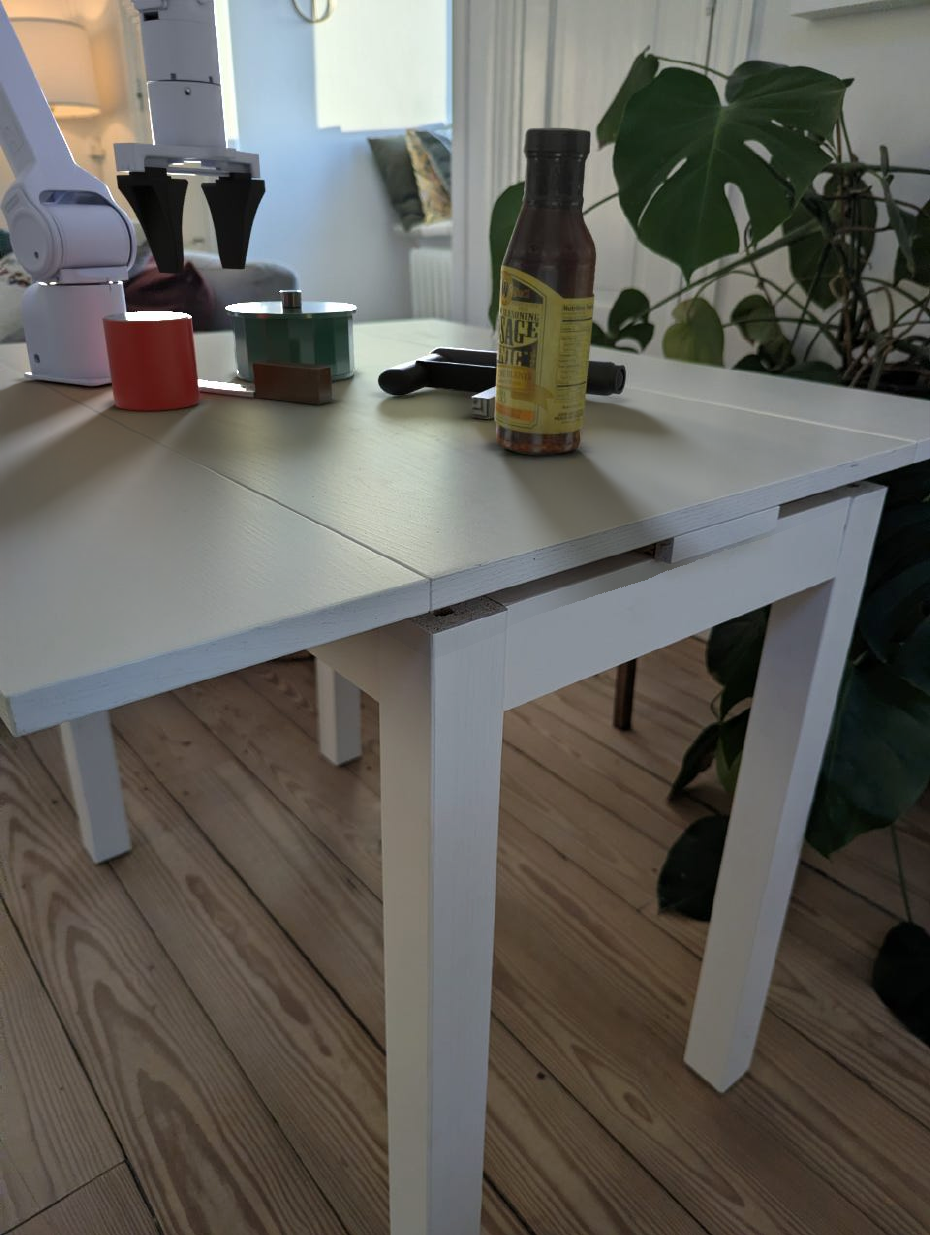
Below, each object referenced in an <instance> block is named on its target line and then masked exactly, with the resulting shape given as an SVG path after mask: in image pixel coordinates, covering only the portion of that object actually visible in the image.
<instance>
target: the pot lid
mask: <svg viewBox="0 0 930 1235" xmlns="http://www.w3.org/2000/svg"><path fill="white" fill-rule="evenodd" d="M279 292H280V301H260V302H259V301H258V302H245V303H237V304H232V305H228V306H226V307H225V312H226V314H227V315H229V316H231V315H232V316H237V317H246V318H261V319H313V318H330V317H340V316H347V315H352V316H353V315H354V314H356V313H357V306H356V305H353V304H348V303H343V302H330V301H307V300H306V301H305V300H304V301H303V299H302V291H301V290H300V289H299V290H298V289H296V290H295V289H285V290H283V289H282V290H280V291H279Z"/></svg>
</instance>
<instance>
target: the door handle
mask: <svg viewBox="0 0 930 1235" xmlns="http://www.w3.org/2000/svg"><path fill="white" fill-rule="evenodd" d="M496 375H497V351H492V350H481V349H471V348H470V349H469V348H457V347H447V346H438V347H435V348H433V349H432V350H431V351H430V352H429V353H428V355H425V356H423V357H420V358H417V359H413V360H410V361H408V362H405V363H402V364H398V365H396V366H393V367H390V368H387V369H385V370H383V371H381V373H380V374H379V375H378V377H377V385H378V386H379V388H380V390H381V391H382V392H384V393H386V394H388V395H391V396H394V397H400V396H406V395H408V394H411V393H413V392H416V391H419V390H421V389H424V388H429V389H430V388H431V389H439V390H447V391H448V390H449V391H457V392H468V393H476V394H475V395H472V396H471V417H472V418H477V419H484V420H491V419H495V395H496ZM626 380H627V369H626V366H625V365H624V364H617V363H615V362H613V361H608V360H607V361H606V360H598V359H597V360H596V359H589V364H588V376H587V387H586V395H591V396H601V397H609V396H612V395H621V394H622V392H623V391H624V389H625V386H626Z"/></svg>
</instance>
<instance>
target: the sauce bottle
mask: <svg viewBox="0 0 930 1235" xmlns="http://www.w3.org/2000/svg"><path fill="white" fill-rule="evenodd" d="M591 134H592V133H591V131H590V130H587V129H580V128H571V127H570V128H569V127H530V128H527V129H526V130H525V133H524V142H523V154H524V157H525V159H526V160H525V161H526V162H525V175H524V194H523V197H522V204H521V208H520V211H519V214H518V217H517V219H516V223H515V225H514V229H513V231H512V234H511V237H510V239H509V243H508V246H507V248H506V250H505V251H506V252H505V254H504V257H503V259H502V260H503V261H502V263H501V266H500V279H499V282H500V285H499V286H500V287H499V288H500V289H499V309H498V310H499V311H498V321H497V323H498V324H497V350H496V352H497V375H496V395H495V417H494V423H496V429H495V431H496V434H495V435H496V436H495V437H496V442H497V445H499V446H500V447H501V448H503V449H505V450H509V451H512V452H515V453H518V454H522V455H529V456H532V455H553V454H563V453H569V452H573V451H574V450H576V449H578V448H579V446H580V443H581V441H582V439H581V438H582V437H581V429H582V428H583V427H584V422H585V421H584V420H585V408H586V397H587V394H586V387H587V376H588V364H589V360H590V354H591V341H592V330H593V318H594V306H595V293H594V285H595V275H596V264H597V251H596V250H597V248H596V244H595V241H594V239H593V237H592V234H591V233H590V229H589V227H588V226H587V223H586V221H585V217H584V212H583V210H584V209H583V208H584V202H585V197H584V185H585V175H586V162H587V160H588V158H589V155H590V152H591V137H592V136H591Z"/></svg>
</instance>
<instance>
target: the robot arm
mask: <svg viewBox="0 0 930 1235" xmlns="http://www.w3.org/2000/svg"><path fill="white" fill-rule="evenodd" d="M130 3H131V4H133V8H134V10H135V11H136V12H137V13H138V19H139V25H140V26H139V28H140V36H141V44H142V52H143V53H142V54H143V62H144V72H145V78H146V90H147V96H148V105H149V106H148V108H149V113H150V123H151V131H152V140H153V141H152V142H153V143H142V142H141V143H139V142H114V143H112V147H113V153H114V162H115V169H116V172H117V173H128V174H118V175H116V184H117V189H118V190H119V192H120V193H121V194H122V196H123V197H124V198H125V200H126V201H127V203H128V205H129V207H130V208H131V209H132V211H133V213H134V215H135V217H136V219H137V221H138V222H139V224H140V226H141V228H142V231H143V233H144V235H145V238H146V241H147V243H148V246H149V248H150V252H151V254H152V257H153V260H154V262H155V265H156V267H157V271H158V273H159V274H174V275H176V274H177V275H179V274H181V275H182V274H184V269H185V249H184V248H185V247H184V234H183V223H184V210H185V201H186V195H187V190H188V187H189V181H188V179H185V178H172V176H171V175H182V176H183V175H184V176H200V177H218V179H215V180H214V182H202V183H201V184H200V187H201V189H202V192H203V195H204V197H205V199H206V203H207V205H208V208H209V212H210V214H211V219H212V222H213V226H214V232H215V239H216V240H215V241H216V247H217V254H218V258H219V263H220V265H221V268H222V270H245V269H246V264H247V257H248V250H249V244H250V238H251V233H252V228H253V224H254V222H255V219H256V218H255V217H256V214H257V211H258V209H259V206H260V203H262V202H261V201H262V200H263V198H264V195H265V194H266V192H267V191H266V181H265V179H261V166H260V165H261V164H260V154H259V153H251V152H246V151H240V150H237V148H233V147H228V138H227V137H228V136H227V124H226V117H225V116H226V115H225V103H224V101H225V100H224V90H223V78H222V77H223V76H222V66H221V65H222V64H221V55H220V44H219V43H220V42H219V31H218V21H217V20H218V19H217V9H216V0H130ZM0 148H1V150H2V152H3V155H4V157H5V160H6V161H7V163H8V165H9V168H10V170H11V171H12V174H13V176H14V178H15V179H14V180H13V182H12V183H11V184H10V185H9V186H8V188H7V189H6V190H5V192H4V194H3V196H2V200H1V203H0V210H1V212H2V214H3V216H4V220H5V221H6V224H7V228H8V234H9V241H10V245H11V249H12V251H13V255H14V256H15V258H16V260H17V262H18V263H19V264H20V266H21V267H22V268H23V270H24V271H25V272H26V273H27V274H29V275H30V278H31V282H33V283H32V284H31V285H29V286H28V287H27V288H26V289H25V291H24V293H23V294H22V297H21V301H20V317H21V318H20V319H21V322H22V328H23V332H24V333H23V334H24V339H25V345H26V350H27V356H28V361H29V367H30V372H25V373H23V377H24V378H25V379H30V380H39V381H40V380H41V381H47V382H55V383H62V384H71V385H79V386H87V387H96V386H97V387H98V386H101V385H108V384H112V381H111V375H110V368H109V361H108V354H107V347H106V340H105V333H104V327H103V320H102V319H103V318H104V317H105V316H108V315H112V314H120V313H127V306H126V299H125V292H124V284H123V281H128V280H129V271H130V270H131V269H132V267H133V265H134V263H135V261H136V258H137V252H138V241H137V235H136V231H135V228H134V225H133V223H132V221H131V218H130V217H129V216H128V214H127V213H126V212H125V211H124V210H123V209H122V207H120V206H119V204H118V203H117V202H116V201H115V199H114V198H113V196H112V193H111V191H110V190H109V186H108V185H107V184H106V183H104V182H103V181H101V180H100V179H99V178H98V177H96V176H95V175H93V174H91V173H90V172H89V171H87V170H86V169H84V168H83V167H81V165H79V164H78V163H76V161H75V159H74V157H73V154H72V153H71V151H70V147H69V146H68V144H67V142H66V140H65V137H64V135H63V133H62V131H61V129H60V127H59V124H58V122H57V120H56V118H55V116H54V113H53V111H52V108H51V107H50V105H49V103H48V101H47V98H46V96H45V93H44V92H43V90H42V87H41V85H40V83H39V81H38V78H37V76H36V74H35V72H34V69H33V67H32V66H31V63H30V61H29V59H28V57H27V55H26V52H25V50H24V48H23V46H22V43H21V41H20V39H19V37H18V35H17V33H16V31H15V28H14V26H13V24H12V22H11V19H10V18H9V15H8V12H7V11H6V9H5V6H4V4H3V2H2V0H0ZM185 163H200V167H201V168H196V167H183V166H182V167H181V166H172V165H185ZM209 168H210V169H209ZM211 168H215V169H211Z"/></svg>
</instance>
